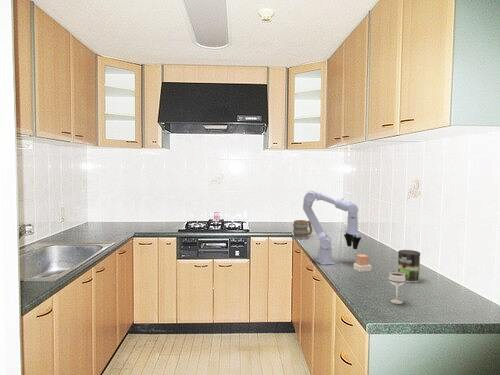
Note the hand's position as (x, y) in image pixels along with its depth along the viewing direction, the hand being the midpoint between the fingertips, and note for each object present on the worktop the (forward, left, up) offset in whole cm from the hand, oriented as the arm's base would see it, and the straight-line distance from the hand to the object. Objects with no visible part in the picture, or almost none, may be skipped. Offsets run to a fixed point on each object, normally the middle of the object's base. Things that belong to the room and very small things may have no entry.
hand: (352, 247), depth 219 cm
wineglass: (+61, -10, -10) cm, 62 cm away
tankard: (-86, +1, -10) cm, 87 cm away
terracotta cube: (+12, 0, -7) cm, 14 cm away
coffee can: (+34, +14, -10) cm, 38 cm away
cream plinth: (+12, 0, -10) cm, 16 cm away
